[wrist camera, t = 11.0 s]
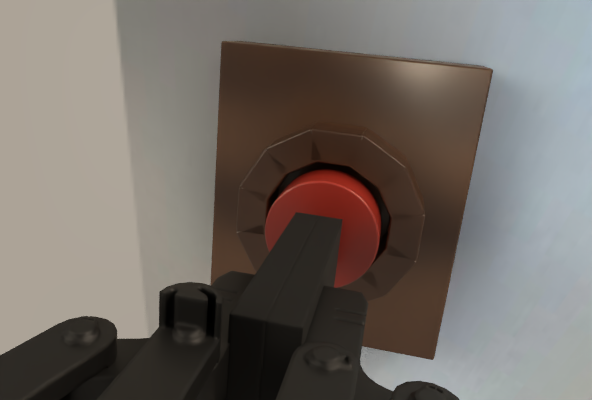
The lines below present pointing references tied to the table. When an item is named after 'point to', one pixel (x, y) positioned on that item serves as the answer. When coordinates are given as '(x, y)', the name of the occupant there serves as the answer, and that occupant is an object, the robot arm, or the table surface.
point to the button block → (353, 166)
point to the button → (336, 204)
